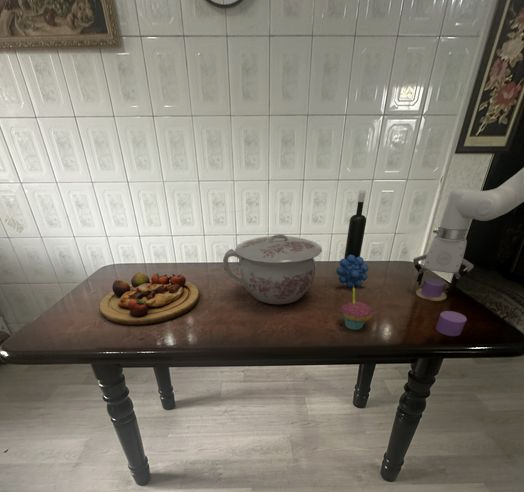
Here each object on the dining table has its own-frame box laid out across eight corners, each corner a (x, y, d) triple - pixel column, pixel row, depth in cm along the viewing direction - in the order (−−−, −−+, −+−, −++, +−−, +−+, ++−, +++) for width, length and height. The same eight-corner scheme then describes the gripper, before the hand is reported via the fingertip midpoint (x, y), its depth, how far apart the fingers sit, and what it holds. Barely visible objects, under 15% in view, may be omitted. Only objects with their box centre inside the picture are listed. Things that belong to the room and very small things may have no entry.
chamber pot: (331, 291, 107) (338, 230, 95) (290, 323, 88) (293, 253, 77) (266, 275, 120) (266, 220, 108) (220, 300, 102) (213, 237, 90)
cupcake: (336, 329, 85) (342, 290, 78) (341, 316, 92) (347, 278, 85) (367, 335, 82) (376, 295, 76) (371, 321, 89) (379, 283, 82)
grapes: (337, 292, 106) (341, 259, 99) (332, 285, 111) (336, 252, 105) (369, 291, 106) (376, 258, 100) (363, 284, 112) (369, 251, 105)
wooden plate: (174, 332, 85) (168, 305, 81) (77, 321, 91) (67, 296, 87) (213, 287, 111) (211, 265, 106) (136, 281, 117) (130, 260, 112)
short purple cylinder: (461, 327, 85) (466, 314, 83) (460, 338, 81) (467, 324, 78) (436, 322, 88) (441, 309, 85) (434, 332, 83) (439, 318, 81)
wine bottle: (358, 277, 117) (373, 191, 100) (343, 277, 118) (355, 191, 100) (355, 272, 122) (369, 189, 105) (340, 272, 122) (352, 189, 105)
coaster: (446, 292, 105) (447, 291, 105) (445, 303, 98) (446, 302, 98) (417, 287, 109) (417, 286, 109) (414, 297, 102) (414, 296, 102)
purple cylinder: (441, 292, 104) (446, 280, 102) (440, 299, 100) (445, 286, 97) (421, 288, 107) (425, 276, 104) (420, 295, 102) (423, 283, 100)
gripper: (419, 233, 93) (406, 286, 102) (485, 239, 86) (464, 295, 95) (421, 228, 98) (408, 278, 108) (484, 233, 91) (464, 286, 101)
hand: (434, 286), depth 101 cm, fingers open, 9 cm apart
